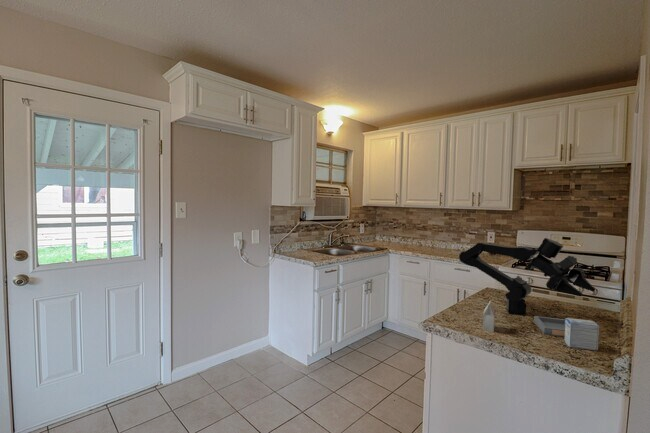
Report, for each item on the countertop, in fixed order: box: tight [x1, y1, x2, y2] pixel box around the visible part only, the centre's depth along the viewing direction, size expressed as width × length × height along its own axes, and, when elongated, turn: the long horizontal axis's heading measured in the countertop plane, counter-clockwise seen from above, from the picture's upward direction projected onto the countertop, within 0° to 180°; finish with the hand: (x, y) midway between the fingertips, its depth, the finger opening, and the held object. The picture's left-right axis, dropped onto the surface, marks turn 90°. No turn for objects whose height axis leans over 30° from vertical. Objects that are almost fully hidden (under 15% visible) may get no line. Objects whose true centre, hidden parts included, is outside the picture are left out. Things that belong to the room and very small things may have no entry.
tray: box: [533, 315, 566, 338], centre depth 120 cm, size 11×13×2 cm
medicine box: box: [564, 317, 600, 351], centre depth 106 cm, size 8×4×9 cm, turn 71°
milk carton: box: [481, 300, 496, 333], centre depth 121 cm, size 4×7×10 cm, turn 149°
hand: (588, 293), depth 117 cm, fingers open, 9 cm apart
